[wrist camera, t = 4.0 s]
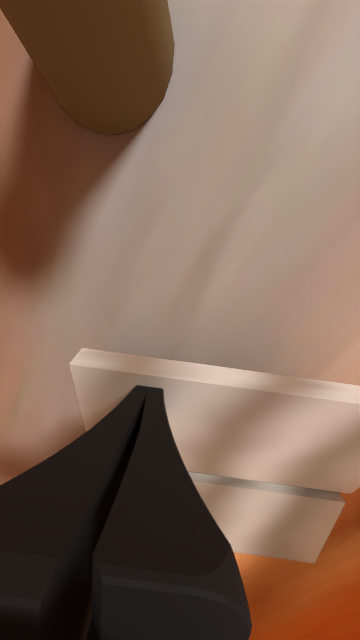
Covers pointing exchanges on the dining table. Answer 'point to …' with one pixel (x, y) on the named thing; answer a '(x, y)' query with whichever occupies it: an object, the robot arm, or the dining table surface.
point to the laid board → (270, 515)
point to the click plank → (237, 417)
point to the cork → (99, 56)
